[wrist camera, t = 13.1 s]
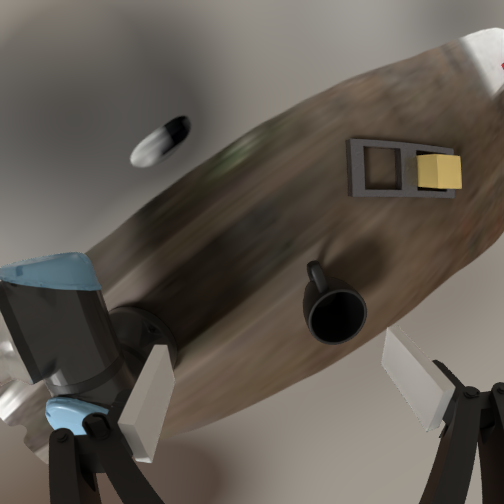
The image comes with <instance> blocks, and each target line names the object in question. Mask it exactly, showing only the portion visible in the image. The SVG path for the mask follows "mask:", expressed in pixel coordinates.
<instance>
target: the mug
mask: <svg viewBox="0 0 504 504" xmlns="http://www.w3.org/2000/svg"><path fill="white" fill-rule="evenodd" d="M307 272H308V276H309V279H310V282H309V283H308V285H307V286H306V288H305V293H304V299H303V313H304V317H305V320H306V323H307V326H308V328H309V330H310V332H311V334H312V335H313V337H315V338H316V339H317V340H318V341H320V342H322V343H325V344H329V345H336V344H341V343H344V342H347V341H349V340H350V339H352V338H353V337H354V336H356V335H357V334H358V333H359V331H360V330H361V329H362V327H363V325H364V323H365V320H366V317H367V308H366V303H365V301H364V299H363V298H362V297H361V296H360V294H359V293H358V292H357V291H356V290H355V289H354V288H353V287H352V286H350V285H349V284H347V283H346V282H344V281H342V280H339V279H336V278H333V277H327V276H325V275H324V273H323V270H322V268H321V266H320V264H319V262H318V261H316V260H314V261H311V262H309V263H308V264H307Z"/></svg>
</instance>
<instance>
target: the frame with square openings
mask: <svg viewBox="0 0 504 504" xmlns="http://www.w3.org/2000/svg"><path fill="white" fill-rule="evenodd" d="M363 147H365V148H382V149H395V168H396V190H386V189H365V171H364V151H363ZM416 151H418V152H427V153H435V154H442V155H453V156H454V149H451V148H444V147H437V146H430V145H422V144H413V143H404V142H393V141H381V140H367V139H348V140H346V153H347V174H348V196H352V197H436V198H455V189H450V188H440V191H425V190H417V159H416Z"/></svg>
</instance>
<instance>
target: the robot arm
mask: <svg viewBox="0 0 504 504" xmlns="http://www.w3.org/2000/svg"><path fill="white" fill-rule="evenodd" d="M0 280H1V281H0V386H1V385H3V384H5V383H7V382H9V381H11V380H19V381H21V382H24V383H26V384H29V385H33V384H35V383H37V382H39V381H41V380H44V382H45V384H46V386H47V388H48V390H49V391H50V393H51V395H52V398H50V399H49V400H48V401H47V406H46V412H45V413H46V417H47V419H48V421H49V423H50V424H51V426H52V427H53V428H54V429H55V430H54V431H53V432H52V433H51V434H50V438H49V487H50V502H51V504H102V503H101V498H100V493H99V488H98V483H97V477H96V473H106V474H107V476H108V478H109V480H110V481H111V483H112V485H113V487H114V488H115V490H116V492H117V494H118V495H119V497H120V499H121V500H122V502H123V503H124V504H165V503H164V502H163V501H162V500H161V498H160V497H159V496H158V495H157V493H156V492H155V491H154V489H153V488H152V487H151V485H150V484H149V482H148V481H147V480H146V478H145V477H144V475H143V474H142V473H141V471H140V470H139V468H138V467H137V465H136V464H135V462H134V461H133V459H132V455H134V457H135V459H136V461H140V462H148V463H152V460H153V457H154V453H155V449H156V446H157V442H158V439H159V435H160V432H161V428H162V425H163V421H164V418H165V414H166V411H167V408H168V404H169V401H170V398H171V394H172V391H173V388H174V384H175V378H174V374H173V368H174V365H175V363H176V359H177V345H176V341H175V339H174V336H173V335H172V333H171V331H170V330H169V328H168V327H167V326H166V325H165V324H164V323H163V322H162V321H161V320H160V319H159V318H158V317H156V316H155V315H153V314H152V313H150V312H148V311H146V310H143V309H140V308H136V307H128V306H127V307H119V308H115V309H113V310H111V311H110V312H108V310H107V307H106V304H105V301H104V298H103V294H102V291H101V289H102V287H101V285H100V284H99V283H98V280H97V277H96V274H95V271H94V268H93V265H92V263H91V261H90V259H89V258H88V257H87V256H86V255H85V254H83V253H78V252H69V253H60V254H54V255H48V256H42V257H37V258H31V259H27V260H22V261H18V262H14V263H12V264H7V265H4V266H2V267H1V268H0ZM381 365H382V366H383V367H384V369H385V370H386V372H387V373H388V374H389V376H390V377H391V379H392V380H393V382H394V383H395V385H396V386H397V388H398V389H399V391H400V392H401V394H402V395H403V396H404V398H405V400H406V401H407V403H408V404H409V406H410V407H411V409H412V410H413V411H414V413H415V415H416V416H417V418H418V419H419V420H420V422H421V424H422V425H423V427H424V428H425V430H426V432H428V431H430V430H433V429H436V428H438V427H439V425H440V423H441V421H442V419H443V421H444V422H445V423H446V424H445V426H444V428H443V430H442V432H441V434H440V436H439V438H441V441H440V444H439V447H438V451H437V454H436V458H435V461H434V464H433V467H432V470H431V473H430V476H429V479H428V481H427V484H426V487H425V490H424V492H423V495H422V497H421V500H420V502H419V504H464V503H465V500H466V496H467V492H468V488H469V484H470V479H471V475H472V470H473V465H474V460H475V453H476V448H477V442H478V449H479V457H480V467H481V480H482V498H483V499H482V503H483V504H504V383H502V382H499V383H496V384H494V385H493V387H492V389H491V391H488V392H480V391H479V390H478V389H477V388H475V387H471V386H467V387H465V386H464V385H463V384H462V383H461V382H460V381H459V380H458V378H457V377H455V375H454V374H452V372H451V371H450V370H448V368H447V367H446V366H445V365H444V364H443V363H441V362H439V361H438V360H433V361H431V360H430V359H429V357H428V356H427V355H426V354H425V353H424V352H423V351H422V350H421V349H420V348H419V347H418V346H417V345H416V344H415V343H414V342H413V341H412V340H411V339H410V338H409V337H408V335H406V333H405V332H404V331H403V330H402V329H401V328H400V327H399V326H393V327H387V333H386V339H385V345H384V351H383V357H382V362H381Z"/></svg>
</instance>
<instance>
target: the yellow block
mask: <svg viewBox="0 0 504 504" xmlns="http://www.w3.org/2000/svg"><path fill="white" fill-rule="evenodd" d="M416 159H417V186H418V187H429V188H450V189H462V182H461V162H460V156H453V155H442V154H431V155H419V156H416Z"/></svg>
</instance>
